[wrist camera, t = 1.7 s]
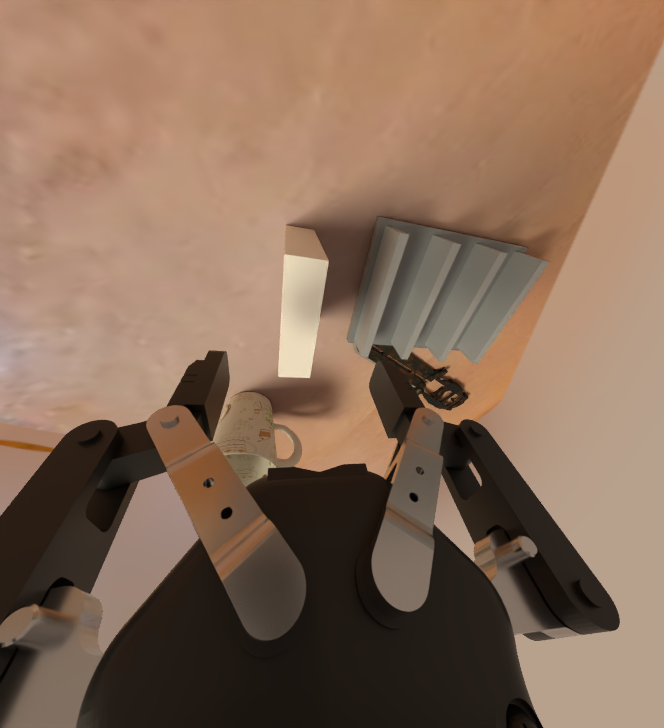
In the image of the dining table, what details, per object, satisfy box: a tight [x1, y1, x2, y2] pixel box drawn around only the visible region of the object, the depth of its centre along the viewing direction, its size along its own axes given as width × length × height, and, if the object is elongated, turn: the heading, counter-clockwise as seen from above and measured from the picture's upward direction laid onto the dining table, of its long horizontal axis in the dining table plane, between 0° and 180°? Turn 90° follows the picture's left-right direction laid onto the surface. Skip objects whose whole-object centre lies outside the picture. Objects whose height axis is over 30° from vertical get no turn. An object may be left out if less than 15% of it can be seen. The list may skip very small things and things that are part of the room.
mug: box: [210, 392, 302, 487], centre depth 31 cm, size 8×13×10 cm, turn 57°
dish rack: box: [347, 216, 549, 364], centre depth 25 cm, size 16×13×4 cm
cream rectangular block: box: [278, 225, 329, 378], centre depth 20 cm, size 2×9×10 cm, turn 170°
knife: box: [353, 343, 468, 410], centre depth 34 cm, size 25×6×1 cm, turn 46°
